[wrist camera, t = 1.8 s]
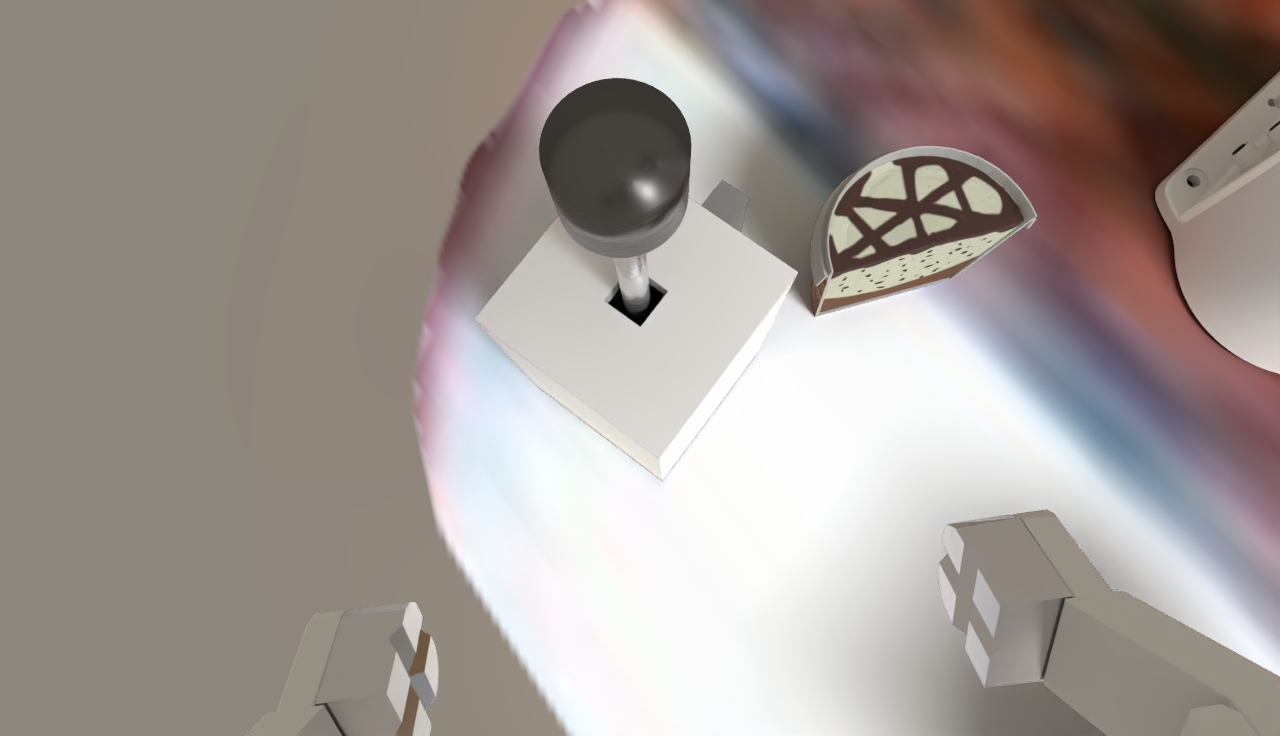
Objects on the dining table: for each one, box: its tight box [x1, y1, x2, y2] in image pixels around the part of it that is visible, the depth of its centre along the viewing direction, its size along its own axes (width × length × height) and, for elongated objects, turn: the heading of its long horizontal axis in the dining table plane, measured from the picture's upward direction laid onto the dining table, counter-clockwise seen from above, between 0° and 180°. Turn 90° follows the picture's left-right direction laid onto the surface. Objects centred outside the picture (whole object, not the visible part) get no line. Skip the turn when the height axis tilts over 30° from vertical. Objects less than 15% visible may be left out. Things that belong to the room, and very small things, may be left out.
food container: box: [810, 146, 1037, 317], centre depth 47 cm, size 12×6×10 cm, turn 105°
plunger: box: [539, 78, 691, 327], centre depth 31 cm, size 4×4×20 cm
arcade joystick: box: [475, 180, 798, 481], centre depth 42 cm, size 13×10×17 cm
